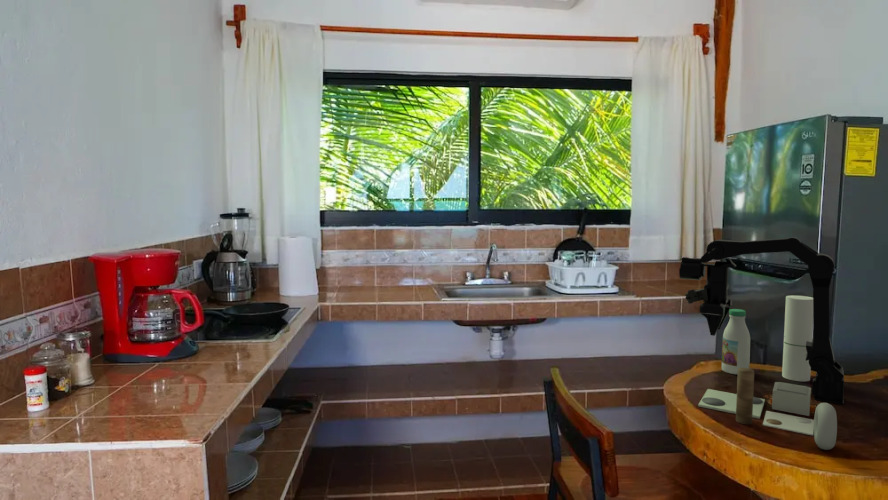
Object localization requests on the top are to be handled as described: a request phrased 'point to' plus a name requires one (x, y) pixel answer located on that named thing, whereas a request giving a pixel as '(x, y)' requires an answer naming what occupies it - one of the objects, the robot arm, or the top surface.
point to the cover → (791, 398)
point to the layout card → (789, 423)
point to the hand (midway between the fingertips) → (715, 332)
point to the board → (728, 402)
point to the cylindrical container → (797, 337)
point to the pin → (745, 395)
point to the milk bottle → (736, 343)
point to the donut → (825, 426)
